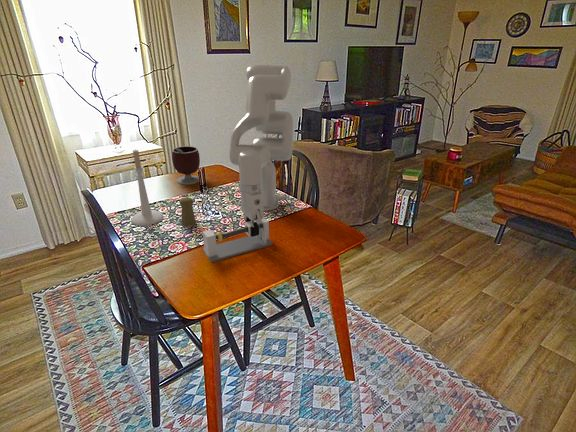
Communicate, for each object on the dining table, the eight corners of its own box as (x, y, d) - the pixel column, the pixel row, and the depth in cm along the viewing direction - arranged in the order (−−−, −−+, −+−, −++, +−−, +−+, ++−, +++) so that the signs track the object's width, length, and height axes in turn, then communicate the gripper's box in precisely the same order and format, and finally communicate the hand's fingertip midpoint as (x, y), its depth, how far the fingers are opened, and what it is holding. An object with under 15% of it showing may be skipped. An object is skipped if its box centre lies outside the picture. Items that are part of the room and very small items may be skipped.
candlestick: (129, 215, 151) (115, 147, 138) (160, 210, 157) (149, 143, 144) (133, 228, 141) (119, 155, 128) (166, 221, 147) (155, 151, 134)
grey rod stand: (261, 234, 139) (261, 214, 135) (272, 244, 132) (272, 223, 128) (202, 250, 128) (200, 228, 124) (211, 262, 121) (209, 240, 117)
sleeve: (254, 229, 133) (254, 220, 131) (259, 234, 130) (259, 224, 128) (244, 232, 131) (244, 222, 129) (249, 236, 128) (249, 227, 126)
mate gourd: (183, 174, 198) (179, 139, 189) (206, 177, 195) (203, 141, 186) (168, 184, 185) (163, 147, 176) (192, 187, 182) (188, 149, 173)
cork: (192, 226, 143) (189, 202, 139) (178, 225, 144) (175, 200, 140) (198, 220, 149) (196, 196, 144) (185, 218, 150) (182, 195, 145)
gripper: (271, 192, 118) (271, 240, 126) (249, 177, 131) (251, 221, 139) (251, 197, 114) (252, 245, 122) (231, 181, 127) (233, 225, 135)
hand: (252, 232), depth 130 cm, fingers closed on sleeve, 4 cm apart
